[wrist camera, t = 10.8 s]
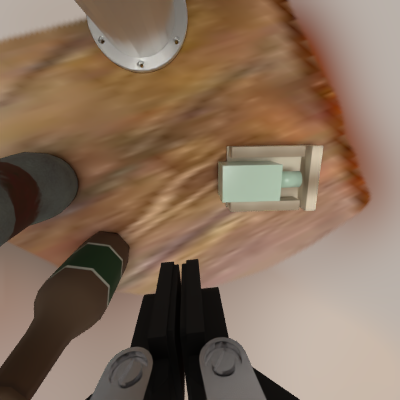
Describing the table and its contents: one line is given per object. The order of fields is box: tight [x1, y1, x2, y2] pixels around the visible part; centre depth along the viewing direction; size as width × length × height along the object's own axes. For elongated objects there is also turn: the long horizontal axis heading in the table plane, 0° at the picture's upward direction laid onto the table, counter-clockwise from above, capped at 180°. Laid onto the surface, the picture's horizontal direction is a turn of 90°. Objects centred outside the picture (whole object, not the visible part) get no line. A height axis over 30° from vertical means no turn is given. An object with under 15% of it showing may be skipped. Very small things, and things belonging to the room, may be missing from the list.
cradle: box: [226, 145, 323, 212], centre depth 35 cm, size 10×13×3 cm
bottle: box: [218, 161, 302, 203], centre depth 34 cm, size 5×5×12 cm
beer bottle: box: [0, 232, 129, 400], centre depth 27 cm, size 8×8×24 cm
